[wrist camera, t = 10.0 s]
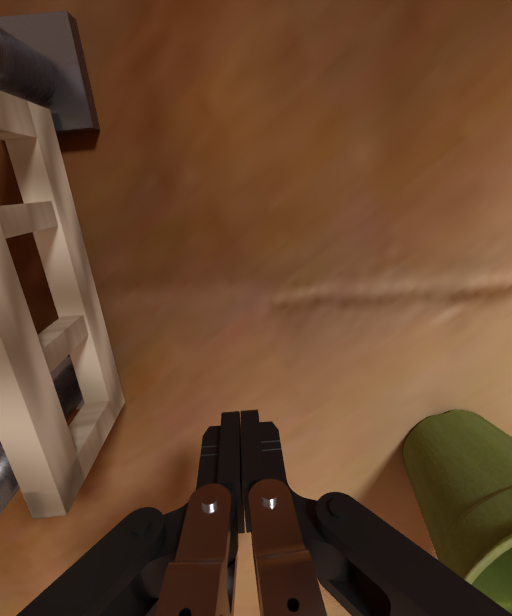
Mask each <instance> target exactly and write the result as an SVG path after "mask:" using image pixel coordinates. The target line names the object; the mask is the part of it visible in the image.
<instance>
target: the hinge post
mask: <svg viewBox="0 0 512 616" xmlns="http://www.w3.org/2000/svg"><path fill="white" fill-rule="evenodd" d="M0 91H3V92H5V93H8V94H11V95H13V96H16V97H18V98H21V99H24V100H26V101H29V102H32V103H34V104H37V105H39V106H42V107H45V108H47V109H50V112H51V116H52V120H53V124H54V128H55V132H56V134H64V133H75V132H85V131H95V130H100V127H99V123H98V118H97V113H96V109H95V104H94V100H93V95H92V91H91V86H90V82H89V77H88V73H87V68H86V63H85V59H84V54H83V50H82V45H81V41H80V36H79V32H78V27H77V23H76V19H75V18H74V17H73V16H71V15H70V14H69V13H68V12H67V11H59V12H48V13H37V14H27V15H16V16H5V17H0Z"/></svg>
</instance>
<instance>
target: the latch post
mask: <svg viewBox="0 0 512 616" xmlns="http://www.w3.org/2000/svg"><path fill="white" fill-rule="evenodd" d="M50 375H51V378H52V381H53V384H54V387H55V390H56V393H57V396H58V399H59V402H60V405H61V408H62V411H63V414H64V417H65V420H66V422H67V421H68V419H69V418H70V417H71V415H72V414H73V412H74V411H75V410H76V409H81V408H82V406H83V405H84V399H83V396H82V393H81V390H80V386H79V383H78V380H77V376H76V373H75V370H74V367H73V363H72V360H71V357H70V354H69V355H68V356H67V357H66V358H65V359H64V360H63V361H62V362H61V363H60V364H59V365H58V366H57V367H56V368H55V369H54V370H53V371H52V372H51V373H50ZM19 488H20V487H19V485H18V482H17V480H16V477H15V475H14V473H13V470H12V468H11V465H10V463H9V461H8V458H7V456H6V454H5V451H4V449H3V446H2V444H1V442H0V514H1V513H2V511H3V510H4V509H5V507H6V506H7V504H8V503H9V502H10V500H11V499H12V498H13V496H14V495H15V493H16V492H17V491H18V489H19Z"/></svg>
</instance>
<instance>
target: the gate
mask: <svg viewBox="0 0 512 616" xmlns="http://www.w3.org/2000/svg"><path fill="white" fill-rule="evenodd" d="M0 140H4V141H5V143H6V146H7V150H8V153H9V156H10V159H11V163H12V166H13V169H14V173H15V176H16V179H17V182H18V186H19V189H20V192H21V196H22V199H23V202H24V204H14V205H4V206H0V442H1V444H2V446H3V449H4V451H5V454H6V456H7V458H8V461H9V463H10V465H11V468H12V470H13V473H14V475H15V477H16V480H17V482H18V485H19V487H20V489H21V492H22V494H23V496H24V499H25V501H26V504H27V506H28V508H29V511H30V513H31V516H32V518H33V519H34V518H43V517H53V516H62V515H67V513H68V512H69V510H70V508H71V506H72V504H73V502H74V500H75V498H76V496H77V494H78V492H79V490H80V488H81V486H82V484H83V482H84V481H85V479H86V477H87V475H88V473H89V471H90V469H91V467H92V465H93V463H94V461H95V459H96V457H97V455H98V453H99V451H100V449H101V448H102V446H103V444H104V442H105V440H106V438H107V436H108V434H109V432H110V430H111V428H112V426H113V424H114V422H115V420H116V418H117V417H118V415H119V413H120V411H121V409H122V407H123V405H124V403H125V400H124V396H123V392H122V388H121V384H120V381H119V377H118V373H117V369H116V365H115V361H114V357H113V353H112V349H111V346H110V342H109V338H108V334H107V330H106V326H105V322H104V318H103V314H102V311H101V307H100V303H99V299H98V295H97V291H96V287H95V283H94V279H93V276H92V272H91V268H90V264H89V260H88V256H87V252H86V248H85V244H84V241H83V237H82V233H81V229H80V225H79V221H78V217H77V213H76V209H75V206H74V202H73V198H72V194H71V190H70V186H69V182H68V178H67V174H66V171H65V167H64V163H63V159H62V155H61V151H60V147H59V143H58V139H57V136H56V132H55V128H54V124H53V120H52V116H51V112H50V109H47V108H45V107H42V106H39V105H37V104H34V103H32V102H29V101H26V100H24V99H21V98H18V97H16V96H13V95H11V94H8V93H5V92H3V91H0ZM31 232H33V235H34V238H35V242H36V245H37V248H38V251H39V255H40V258H41V261H42V265H43V268H44V271H45V274H46V278H47V281H48V284H49V288H50V291H51V294H52V298H53V301H54V304H55V307H56V311H57V314H58V317H59V319H58V320H56V321H55V322H54V323H52V324H51V325H50V326H48V327H47V328H46V329H44V330H43V331H42V332H40V333H39V334H38V335H37V333H36V330H35V327H34V324H33V320H32V317H31V314H30V311H29V308H28V305H27V302H26V299H25V296H24V293H23V290H22V287H21V284H20V281H19V278H18V275H17V272H16V269H15V266H14V263H13V260H12V257H11V254H10V251H9V248H8V245H7V242H6V238H10V237H14V236H18V235H22V234H26V233H31ZM69 354H70V357H71V360H72V363H73V367H74V370H75V373H76V376H77V380H78V383H79V386H80V390H81V393H82V396H83V399H84V405H83V406H82V408H81V409H80V410H79V412H78V413H77V415H76V416H75V418H74V419H73V421H72V422H71V423H70V425H69V426H67V423H66V420H65V417H64V414H63V411H62V408H61V405H60V402H59V399H58V396H57V393H56V390H55V387H54V384H53V381H52V378H51V375H50V373H51V372H52V371H53V370H54V369H55V368H56V367H57V366H58V365H59V364H60V363H61V362H62V361H63V360H64V359H65V358H66V357H67V356H68V355H69Z"/></svg>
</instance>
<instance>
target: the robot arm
mask: <svg viewBox="0 0 512 616" xmlns="http://www.w3.org/2000/svg"><path fill="white" fill-rule="evenodd" d="M244 510H245V521H246V532H247V533H248V532H251V535H252V546H253V558H254V567H255V575H256V584H257V592H258V600H259V609H260V616H327V613H326V610H325V606H324V602H323V599H322V595H321V591H320V588H319V584H318V580H319V582H320V584H321V585H322V586H323V587H324V588H325V589H326V590H327V591H328V592H329V593H330V594H331V595H332V596H333V597H334V598H335V599H336V600H337V601H338V602H339V603H340V604H341V605H342V606H343V607H344V608H345V609H346V610H347V611H348V612H349V613H350V614H351V615H352V616H512V614H511V613H510V612H508V611H507V610H506V609H504V608H503V607H501V606H500V605H499V604H497V603H496V602H495V601H493V600H492V599H490V598H489V597H488V596H486V595H485V594H484V593H482V592H481V591H479V590H478V589H477V588H475V587H474V586H473V585H471V584H470V583H468V582H467V581H466V580H464V579H463V578H462V577H460V576H459V575H457V574H456V573H455V572H453V571H452V570H451V569H449V568H448V567H446V566H445V565H444V564H442V563H441V562H440V561H438V560H437V559H436V558H434V557H433V556H431V555H430V554H429V553H427V552H426V551H425V550H423V549H422V548H420V547H419V546H418V545H416V544H415V543H414V542H412V541H411V540H409V539H408V538H407V537H405V536H404V535H403V534H401V533H400V532H398V531H397V530H396V529H394V528H393V527H392V526H390V525H389V524H387V523H386V522H385V521H383V520H382V519H381V518H379V517H378V516H377V515H375V514H374V513H372V512H371V511H370V510H368V509H367V508H366V507H364V506H363V505H361V504H360V503H359V502H357V501H356V500H355V499H353V498H352V497H350V496H349V495H346V494H344V493H340V492H330V493H327V494H325V495H323V496H322V497H321V498H320V499H319V500H318V501H316V500H311V499H307V498H303V497H301V496H299V495H297V494H296V493H295V492H293V491H292V490H291V488H290V487H289V485H288V483H287V479H286V473H285V467H284V461H283V455H282V450H281V443H280V437H279V431H278V429H277V427H276V426H275V425H274V424H273V422H272V421H271V422H259V415H258V410H248V411H241V424H240V413H239V411H236V412H223V413H222V415H221V426H210V427H209V428H208V429H207V431H206V432H205V434H204V435H203V440H202V448H201V457H200V463H199V471H198V478H197V486H196V491H194V492H193V494H192V495H191V497H190V499H189V502H188V503H187V504H185V505H184V506H183V507H181V508H179V509H177V510H175V511H172V512H170V513H167V514H164V515H162V513H161V512H160V511H159V510H157V509H155V508H152V507H145V508H140V509H137V510H135V511H133V512H132V513H130V514H129V515H128V516H126V517H125V518H124V519H123V520H122V521H121V522H120V523H119V524H118V525H116V526H115V527H114V528H113V529H112V530H111V531H110V532H109V533H108V534H106V535H105V536H104V537H103V538H102V539H101V540H100V541H99V542H98V543H96V544H95V545H94V546H93V547H92V548H91V549H90V550H89V551H88V552H86V553H85V554H84V555H83V556H82V557H81V558H80V559H79V560H78V561H76V562H75V563H74V564H73V565H72V566H71V567H70V568H69V569H68V570H66V571H65V572H64V573H63V574H62V575H61V576H60V577H59V578H58V579H56V580H55V581H54V582H53V583H52V584H51V585H50V586H49V587H48V588H46V589H45V590H44V591H43V592H42V593H41V594H40V595H39V596H38V597H36V598H35V599H34V600H33V601H32V602H31V603H30V604H29V605H28V606H26V607H25V608H24V609H23V610H22V611H21V612H20V613H19V614H18V615H16V616H233V615H234V601H235V587H236V572H237V551H238V533H245V527H244ZM317 578H318V580H317Z"/></svg>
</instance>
